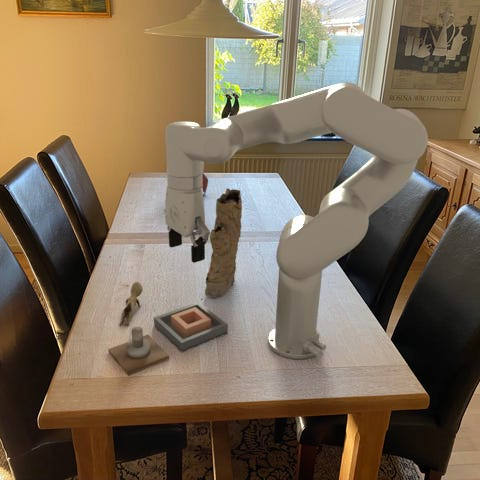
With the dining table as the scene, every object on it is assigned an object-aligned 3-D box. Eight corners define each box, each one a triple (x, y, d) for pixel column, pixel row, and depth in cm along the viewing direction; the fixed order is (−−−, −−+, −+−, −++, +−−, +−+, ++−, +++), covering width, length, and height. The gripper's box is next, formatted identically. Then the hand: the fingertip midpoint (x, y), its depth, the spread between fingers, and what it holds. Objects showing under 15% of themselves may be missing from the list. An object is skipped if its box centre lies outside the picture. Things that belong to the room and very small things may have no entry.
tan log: (203, 282, 144) (202, 183, 132) (238, 281, 145) (241, 183, 133) (206, 307, 131) (205, 200, 119) (244, 305, 132) (248, 199, 121)
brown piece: (169, 359, 110) (168, 332, 108) (128, 376, 105) (125, 348, 102) (148, 337, 118) (146, 312, 115) (108, 352, 112) (106, 326, 109)
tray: (227, 333, 120) (227, 324, 119) (181, 352, 113) (181, 342, 112) (198, 310, 130) (198, 301, 129) (154, 326, 122) (153, 317, 121)
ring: (186, 339, 116) (186, 328, 115) (171, 326, 122) (171, 315, 120) (210, 330, 120) (210, 319, 119) (195, 317, 125) (195, 307, 124)
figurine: (132, 332, 123) (145, 291, 135) (129, 319, 121) (143, 279, 133) (117, 331, 124) (132, 291, 136) (114, 319, 121) (130, 278, 133)
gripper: (150, 174, 110) (153, 244, 117) (191, 194, 98) (192, 271, 105) (179, 169, 115) (181, 237, 121) (222, 188, 102) (221, 262, 109)
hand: (186, 253), depth 113 cm, fingers open, 9 cm apart
